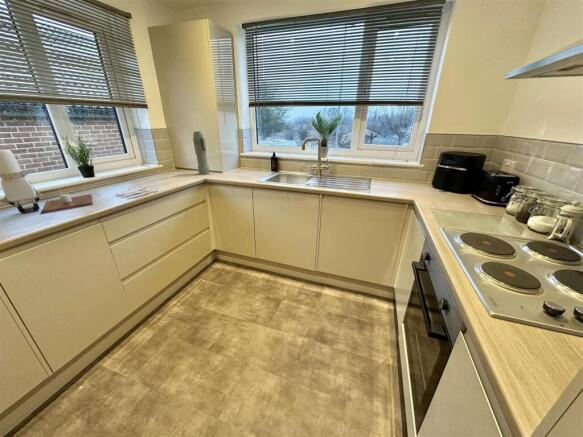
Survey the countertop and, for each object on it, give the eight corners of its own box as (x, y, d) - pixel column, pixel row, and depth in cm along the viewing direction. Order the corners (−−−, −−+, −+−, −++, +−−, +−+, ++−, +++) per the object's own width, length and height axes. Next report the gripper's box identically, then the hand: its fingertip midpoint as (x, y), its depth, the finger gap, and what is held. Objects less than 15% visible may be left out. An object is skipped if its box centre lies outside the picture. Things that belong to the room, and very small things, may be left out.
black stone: (25, 216, 119) (21, 209, 118) (26, 214, 122) (23, 207, 121) (37, 214, 122) (34, 207, 120) (38, 212, 125) (35, 205, 124)
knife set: (107, 194, 153) (107, 193, 153) (158, 182, 181) (158, 181, 181) (129, 200, 141) (129, 198, 141) (180, 186, 169) (180, 184, 169)
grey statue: (206, 175, 204) (199, 131, 190) (195, 174, 208) (188, 131, 194) (213, 173, 211) (207, 131, 198) (202, 172, 215) (195, 131, 202)
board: (39, 214, 122) (37, 211, 122) (44, 204, 138) (43, 201, 138) (92, 204, 135) (91, 202, 134) (91, 196, 151) (91, 193, 150)
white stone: (61, 203, 133) (58, 196, 132) (62, 201, 136) (59, 194, 135) (72, 201, 136) (69, 195, 134) (72, 200, 139) (70, 193, 137)
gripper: (37, 172, 122) (53, 206, 129) (-12, 178, 112) (8, 214, 120) (35, 174, 116) (52, 209, 124) (-17, 181, 107) (5, 218, 114)
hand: (30, 211), depth 121 cm, fingers closed on black stone, 4 cm apart
